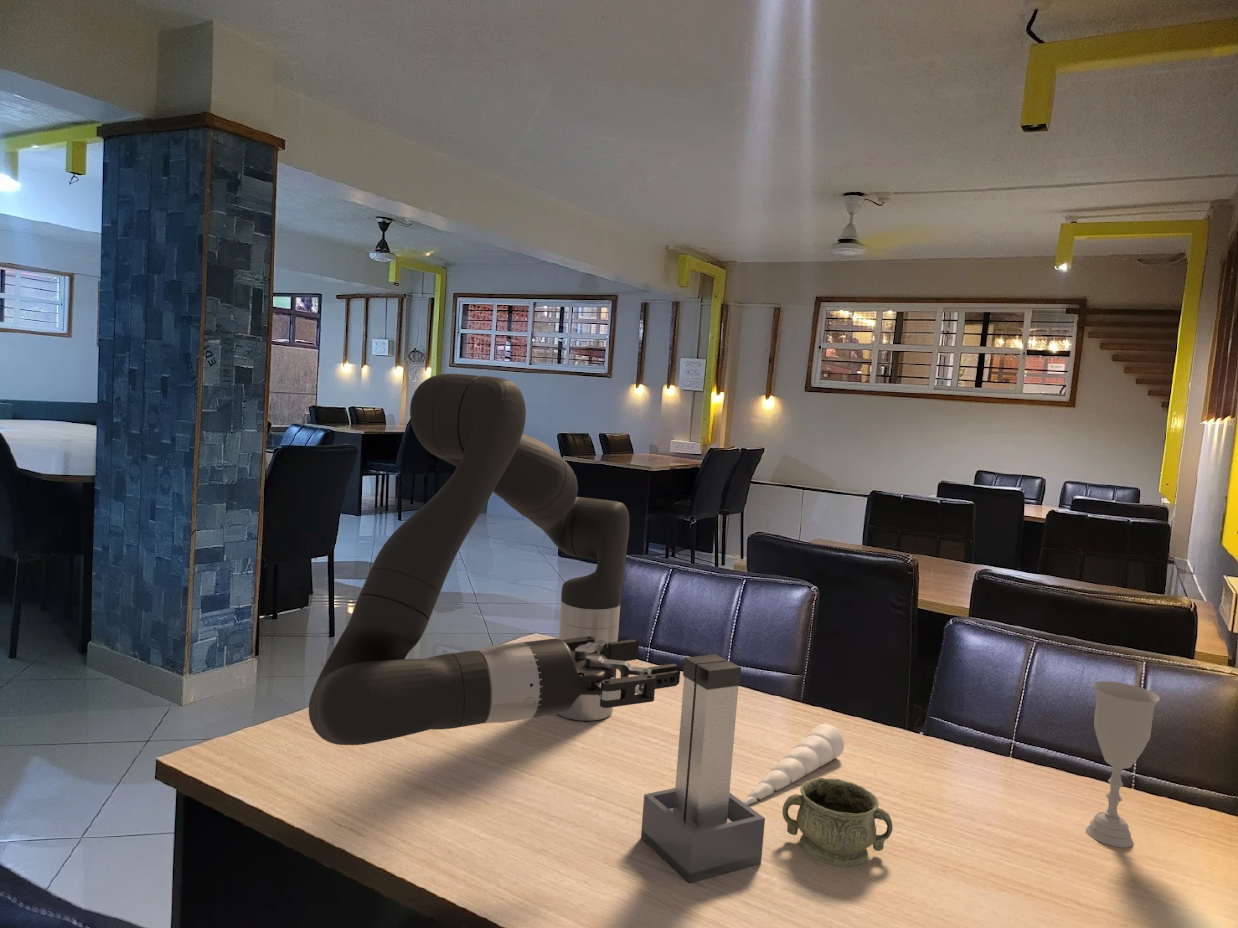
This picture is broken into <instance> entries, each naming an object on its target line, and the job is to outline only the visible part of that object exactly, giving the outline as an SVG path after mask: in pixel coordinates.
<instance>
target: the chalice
mask: <svg viewBox="0 0 1238 928" xmlns="http://www.w3.org/2000/svg"><path fill="white" fill-rule="evenodd" d="M1093 687H1094V690H1095V692H1096V694H1097V695H1096V701H1095V711H1094V720H1093V727H1094V731H1095V732H1094V733H1095V735H1096V739H1097V742H1098V745H1099V747H1100V751H1101V754H1102V756H1103V759H1104V761H1105V762H1106V764H1108V765H1110V766H1111V767H1112V769H1111V770H1112V773H1111V776H1110V778H1109V779H1108V780H1107V782H1108V783H1109V787H1110V790H1109V791H1108V793H1107V794H1105V797H1106V799H1107V800H1108V807H1107V808H1106V810H1105V811H1101V812H1098V813H1096V814H1095V815H1094V816H1093V819H1091V820H1090V822H1089V825H1087V827H1086V828H1085V832H1086V834H1088V836H1089V837H1091V838H1093V840H1095V841H1097V842H1100V843H1103V844H1105V845H1108V846H1111V847H1117V848H1131V847H1133V846H1134V844H1135V843H1134V841H1133V838H1132V834H1131V831H1130V829H1129V828H1130V826H1129V825H1128V823H1127V822H1126V820H1125V819H1124V818H1123V817H1121V816H1120V814H1119V813H1118V808H1117V807H1118V806H1119V803H1120V802H1122V801H1123V799H1122V797H1121V795H1120V789H1121V788H1122V787H1123V786H1124V783H1123V782H1122V775H1121V774H1122V773H1123V769H1125V770H1126V769H1130V768H1131V767H1132V766H1133V765H1134V763H1136V762H1137V760H1138V758H1140V756H1141V755H1142V753H1143V752H1144V750H1145V748H1146V746H1147V744H1148V743H1149V741H1150V739H1151V734H1152V729H1153V728H1152V726H1153V725H1152V724H1153V718H1154V712H1155V711H1154V709H1155V706H1156V705H1157V703H1159V701H1160V699H1161V698H1160V696H1159V695H1158V694H1157V693H1154V692H1153V691H1150V690H1148V689H1146V688H1144V687H1139V686H1138V685H1132V684H1128V683H1124V682H1122V683H1121V682H1116V681H1106V680H1105V681H1098V682H1095V683H1093Z"/></svg>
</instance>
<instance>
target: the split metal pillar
mask: <svg viewBox="0 0 1238 928" xmlns="http://www.w3.org/2000/svg"><path fill="white" fill-rule="evenodd" d="M741 673H742V667H741V666H739V665H737V663H733V662H732V661H729V660H727V659H726V658H724V657H722V656H720V655H718V654H707V655H697V656H688V657H684V658H683V670H682V676H683V685H682V699H681V701H682V702H681V712H680V722H679V723H680V724H679V737H678V750H677V760H676V761H677V765H676V773H675V775H676V777H675V787H674V788H675V799H674V808H670V809H669V810H670V811H671V812H672V813H674V814H675V815H676V816H677V817H678V818H680V819H681V820H682V821H683V822H684V823H685V824H687V825H688V826H689V827H690V828H691V829H693V830H694V831H697V830H701V829H705V828H709V827H713V826H717V825H722V824H726V823H730V822H732V821H730V820H729V819H728V818H727V816H728V804H729V792H730V793H731V791H730V789H731V780H732V778H731V777H732V767H733V756H734V755H733V754H734V743H735V742H734V741H735V731H736V719H737V717H736V716H737V707H738V693H739V687H740V685H741V675H742V674H741Z"/></svg>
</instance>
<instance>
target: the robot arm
mask: <svg viewBox="0 0 1238 928" xmlns="http://www.w3.org/2000/svg"><path fill="white" fill-rule="evenodd" d="M526 415H527V411H526V402H525V398H524V396H523V393H522V390H521V389H520V387H519V386H518V385H517V384H516V383H515V382H513V381H512V380H510V379H505V378H502V377H497V376H489V375H474V374H464V373H463V374H462V373H443V374H438V375H433V376H430V377H429V378H427V379H425V380H424V381H422V382H421V383H420V384H419V385H418V387H417V388H416V389H415V391H414V393H413V394H412V397H411V400H410V406H409V417H410V423H411V426H412V429H413V432H414V435H415V436H416V438H417V440H418V442H420V444H421V446H423V448H424V449H425V450H426V451H427V452H429V453H430V454H431V455H434V456H435V457H437V458H439V459H441V460H443V461H444V462H447V463H449V464H451V465H453V466H455V467H456V468H455V470H454V472H453V473H452V475H451V476H450V478H448V480H447V481H446V483H444V484H443V486H442V487H441V488H440V489H439V490H438V491H437V492H436V493H435V494H433V496H432V497H431V498H430V499H428V501H427V502H426V503H425V504H423V505H422V506H421V507H420V508H419V509H418V510H417V511H416V512H415V513H413V514H412V515H410V516H409V518H408V519H406V520H405V521H404V522H403V523H402V524H401V525H399V527H398V528H397V529H396V530H395V531H394V532H393V533H392V534H391V535H390V536H389V538H388V539H387V540H386V542H385V543H384V544H383V546H382V547H381V549H380V551H379V552H378V553H377V555H376V558H375V559H374V561H373V563H372V566H371V567H370V568H371V569H370V571H369V573H368V575H367V577H366V580H365V581H364V584H363V585H362V588H361V590H360V593H359V596H358V597H357V599H356V602H355V605H354V608H353V611H352V613H351V616H350V619H349V621H348V623H347V625H346V627H345V628H344V631H343V632H342V633H341V636H340V637H339V639H338V641H337V642H336V644H335V646H334V648H333V649H332V651H331V653H330V655H329V657H328V659H327V660H326V663H325V664H324V666H323V667H322V669H321V672H320V674H319V676H318V678H317V680H316V682H315V684H314V687H313V689H312V691H311V695H310V697H309V704H308V717H309V721H310V724H311V727H312V728H313V730H314V731H315V733H316V734H317V735H318V736H319V737H320V738H321V739H322V740H324V741H326V742H328V743H330V744H333V745H338V746H361V745H363V746H364V745H368V744H373V743H374V744H375V743H378V742H384V741H388V740H392V739H397V738H401V737H406V736H409V735H414V734H418V733H423V732H425V731H429V730H433V731H434V730H436V731H437V730H451V729H457V728H464V727H470V726H475V725H481V724H490V723H491V724H493V723H495V724H496V723H498V724H499V723H509V722H516V721H520V720H521V721H522V720H527V719H534V718H538V717H539V718H540V717H545V716H551V715H552V716H553V715H559V716H561V717H563V718H565V719H570V720H575V721H584V722H585V721H586V722H589V721H599V720H603V719H606V718H608V717H610V716H611V715H612V713H613V709H614V708H615V707H623V706H630V705H631V706H632V705H638V704H645V703H653V702H655V693H656V692H655V690H659V689H660V690H661V689H665V688H666V689H667V688H671V687H676V686H678V685H679V684H680V679H681V667H680V666H679V665H677V664H676V663H670V664H662V665H655V666H649V667H642V666H641V667H640V666H632V665H630V662H631V661H635V660H637V659H638V658H639V652H640V649H639V647H640V643H639V642H638V641H637V640H636V639H626V640H620V641H618V640H619V630H620V629H619V626H620V612H621V598H622V591H623V590H622V589H623V585H624V577H625V566H626V560H627V552H628V551H627V549H628V543H629V537H630V514H629V511H628V508H627V506H626V505H625V504H624V503H623V502H619V501H616V500H608V499H600V498H599V499H598V498H592V497H591V498H589V497H582V496H578V491H579V486H578V479H577V476H576V474H575V472H574V470H573V468H572V467H571V466H570V465H569V463H568V462H567V461H566V460H565V459H564V458H563V457H562V456H561V454H559V453H558V452H557V451H556V450H555V449H553V448H552V447H551V446H550V445H548V444H547V443H545V442H543V441H542V440H538V439H537V438H535V437H534V436H531V435H528V434H525V433H524V430H525V426H526V418H527V417H526ZM493 493H494V494H495V495H496V496H498V497H499V498H501V499H502V500H503V501H504V502H505V503H506V504H508V506H510V507H511V509H513V510H515V511H516V512H518V514H520V515H521V516H523V517H524V518H526V519H528V520H529V521H530V522H532V523H533V524H534V525H535V526H537V527H538V528H539V529H541V530H542V531H543V532H544V533H545V535H547V537H548V538H549V539H550V541H552V543H553V544H554V546H556V547H557V548H558V549H559V550H560V551H561V552H562V553H564V554H566V555H569V556H572V557H576V558H581V559H582V558H584V559H589V560H597V564H596V568H595V569H596V570H595V571H593V572H592V573H590V574H589V573H588V574H587V575H583V576H577V577H573V578H570V579H568V580H565V581H564V582H563V583H562V586H561V594H560V610H559V626H558V628H559V629H558V638H556V637H555V638H549V639H548V638H547V639H539V640H530V641H522V642H521V641H520V642H513V643H505V644H498V645H493V646H489V647H486V648H482V649H477V650H467V651H458V652H451V653H444V654H443V653H442V654H439V655H434V656H431V657H427V658H407V655H408V654H409V653H410V651H412V650H413V649H414V648H415V647H416V645H418V643H419V642H420V640H421V639H422V636H423V635H424V632H425V631H426V628H427V627H428V625H429V621H430V619H431V617H432V614H433V612H434V609H435V606H436V604H437V601H438V599H439V596H440V593H441V591H442V588H443V586H444V584H445V580H446V578H447V576H448V574H449V572H450V569H451V567H452V566H453V563H454V561H455V558H456V557H457V554H458V552H459V551H460V548H461V547H462V545H463V544H464V541H465V539H466V538H467V536H468V534H469V532H470V530H472V527H473V526H474V525H475V523H476V521H477V519H479V516H480V515H481V513H482V511H483V510H484V508H485V507H486V504H487V503H488V501H489V499H490V497H491V496H492V494H493ZM629 661H630V662H629ZM617 670H618V671H619V672H620V677H618V678H617ZM630 675H631V676H630Z"/></svg>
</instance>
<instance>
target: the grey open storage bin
mask: <svg viewBox="0 0 1238 928" xmlns="http://www.w3.org/2000/svg"><path fill="white" fill-rule="evenodd" d="M674 799H675V787H673V788H669V789H665V790H664V789H663V790H659V791H655V792H654V791H653V792H648V793H644V794H643V805H642V806H643V807H642V817H641V818H642V819H641V821H642V822H641V832H640V838H641V840H642V841H644V842H645V843H646V844H647V845H648V846H649V847H650V848H651V849H652V850H653V851H654V852H655V853H656V854H658V856H660V858H661V859H663V861H665V862H666V863H667V864H668V865H669V866H670V867H671V868H672V869H674V871H676V873H678V874H679V876H680V877H682V878H683V880H685V881H686V882H687V883H688V884H690V883H691V884H692V883H695V882H698V881H702V880H706V879H709V878H713V877H716V876H721V875H724V874H727V873H731V872H734V871H738V870H741V869H747V868H749V867H752V866H756V865H760V864H762V857H763V845H764V833H765V821H766V818H765V817H764V816H763V815H762V814H760V813H759V812H757V811H756V810H754V809H753V808H752V807H750V806H749V805H746V804H745V803H743V802H744V801H742V800H741V799H740V798H738V797H737V796H735V795H733V794H732V793H731V791H730V792H729V804H728V816H727V818H728V819H729V820H730V821H732V822H730V823H726V824H722V825H717V826H713V827H709V828H705V829H701V830H697V831H694V830H693V829H691V828H690V827H689V826H688V825H687V824H685V823H684V822H683V821H682V820H681V819H680V818H678V817H677V816H676V815H675V814H674V813H672V812H671V811H670V810H669V809H670V808H674Z"/></svg>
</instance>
